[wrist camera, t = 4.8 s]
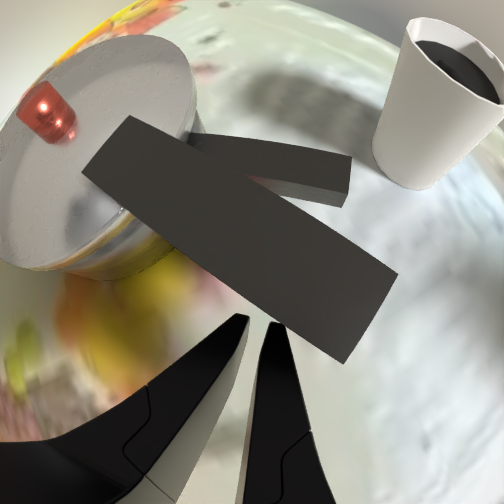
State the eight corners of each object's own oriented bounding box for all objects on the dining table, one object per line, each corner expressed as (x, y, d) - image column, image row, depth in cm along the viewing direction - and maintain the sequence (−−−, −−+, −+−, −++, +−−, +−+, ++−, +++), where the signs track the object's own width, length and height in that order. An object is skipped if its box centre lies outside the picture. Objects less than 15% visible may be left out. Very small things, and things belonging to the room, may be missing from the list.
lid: (213, 475, 9) (182, 535, 5) (-26, 191, 14) (-61, 171, 10) (421, 164, 11) (463, 107, 7) (99, 38, 17) (78, 3, 12)
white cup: (443, 210, 17) (531, 133, 7) (358, 176, 18) (406, 63, 8) (446, 138, 18) (504, 54, 8) (371, 107, 19) (404, 4, 10)
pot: (308, 338, 16) (323, 347, 10) (5, 246, 20) (-40, 227, 14) (343, 122, 19) (358, 62, 13) (64, 109, 23) (33, 76, 17)
